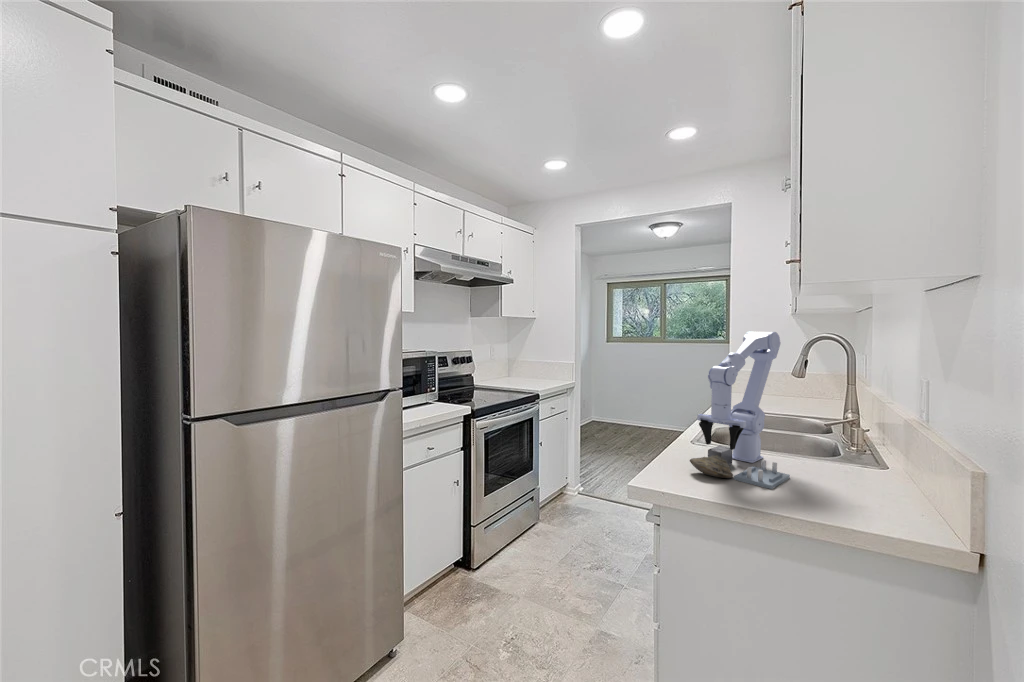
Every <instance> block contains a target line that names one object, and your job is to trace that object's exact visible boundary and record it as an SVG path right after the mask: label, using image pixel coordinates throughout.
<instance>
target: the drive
mask: <svg viewBox="0 0 1024 682" xmlns="http://www.w3.org/2000/svg"><path fill="white" fill-rule="evenodd" d="M732 454H733V450H731V449H730V446H723V445H717V446H714V447H711V448H709V449H707V457H711V456H712V455H713V456H716V455H717V456H720V457H722V458H724V459H725V460H726V461H727V464H728V465H729V466H730V467H731V466H732V465H733V459H732Z"/></svg>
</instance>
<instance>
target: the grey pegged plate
mask: <svg viewBox="0 0 1024 682" xmlns="http://www.w3.org/2000/svg"><path fill="white" fill-rule="evenodd" d="M760 463H761V464H760V465H761V467H759V466H758V467H757V466H747V467H746V469H745V470H743V471H741V472H739V473H737V474H735V475H733V480H735V481H738V482H742V483H745V484H750V485H754V486H758V487H761V488H766V489H769V490H773V489H775V488H776V487H778V486H779V485H781V484H782V483H785V482H786V481H787V480H788V479H790V478H791V477H790V475H791V474H790V473H789V474H788V473H785V472H779V471H778V462H775V461H772V465H771V467H772V468H771V470H770V469H767V460H766V459H761V460H760Z"/></svg>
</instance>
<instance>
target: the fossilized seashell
mask: <svg viewBox="0 0 1024 682" xmlns="http://www.w3.org/2000/svg"><path fill="white" fill-rule="evenodd" d="M689 462H690V464H691V465H692V466H693V467H694V468H695V470H698V471H699V472H700V473H702V474H704V475H705V476H706V475H707V476H712V477H715V478H719V479H721V478H723V479H731V478H734V474H733V472H732V471H731V466H729V465H728V464H727V461H726V460H725V459H724V458H722V457H720V456H717V455H716V456H713V455H712V456H711V457H708V456H702V457H693V458H690V459H689Z"/></svg>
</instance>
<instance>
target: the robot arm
mask: <svg viewBox="0 0 1024 682" xmlns="http://www.w3.org/2000/svg"><path fill="white" fill-rule="evenodd" d="M780 346H781V338H780V335H779V334H778V332H776V331H751V330H750V331H746V332H745V334H744V335H743V338H742V342H741V344H740V346H739V347H738V349H737V350H736V351H735V352H729V353H728V354H727V356H726V357H725V358H724V359H723V360H722V361H721V362H720V363H719V364H718V365H714V366H712V367H711V368H710V369H709V371H708V374H707V380H708V382H709V387H710V390H711V401H710V402H711V405H710V406H711V412H710V414H705V413H699V414H697V417H696V420H697V421H699V422H698V426H699V427H700V429H701V432H702V434H703V437H704V441H705V444H706V445H710V444H711V443H712V430H713V425H714V423H715V424H720V425H727V426H728V431H729V432H728V433H729V439H730V440H729V448H730V449H731V450H732V460H737V461H741V462H746V463H751V464H754V463H755V462H757V461H758V462H759V461H761V460H763V459H764V456H762V455H761V449H762V448H761V447H762V445H761V444H762V440H761V438H762V437H761V436H760V434H761V432H763V430H764V427H765V417H766V413H765V412H764V410H763V409H761V407H760V403H761V399H762V396H763V393H764V391H765V387H766V383H767V380H768V377H769V374H770V371H771V367H772V364H773V360H775V359H777V356H778V354H779V350H780ZM749 357H750V358H752V359H753V360H754V363H753V366H752V368H751V371H750V375H749V379H748V381H747V385H746V388H745V391H744V394H743V396H742V401H740V402H738V403H736V404H735V405H733V406H732V386H733V385H734V384H735V383H736V381H737V377H738V375H739V372H740V371H741V370H742V369H743V368H744V367H745V365H746V359H747V358H749Z"/></svg>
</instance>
